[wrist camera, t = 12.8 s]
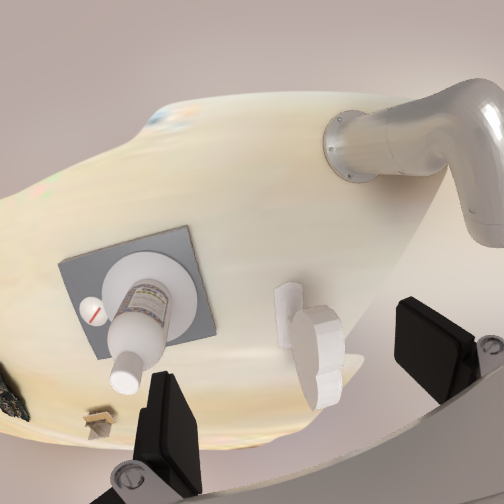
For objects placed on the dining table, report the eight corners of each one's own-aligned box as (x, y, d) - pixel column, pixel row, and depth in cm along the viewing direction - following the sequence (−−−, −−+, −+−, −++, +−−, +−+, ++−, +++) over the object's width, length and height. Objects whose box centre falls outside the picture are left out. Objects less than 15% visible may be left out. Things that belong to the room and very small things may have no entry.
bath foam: (124, 278, 41) (80, 352, 22) (169, 276, 42) (153, 352, 23) (130, 320, 42) (100, 408, 23) (174, 319, 43) (166, 410, 24)
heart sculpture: (304, 350, 54) (344, 411, 37) (279, 355, 53) (311, 421, 36) (301, 274, 50) (352, 321, 33) (273, 279, 49) (313, 331, 32)
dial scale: (187, 225, 44) (186, 229, 41) (215, 327, 49) (217, 338, 46) (63, 259, 41) (54, 266, 38) (101, 352, 46) (96, 363, 43)
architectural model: (85, 406, 49) (77, 429, 42) (110, 400, 50) (103, 425, 43) (94, 416, 50) (87, 440, 43) (118, 411, 51) (113, 436, 44)
